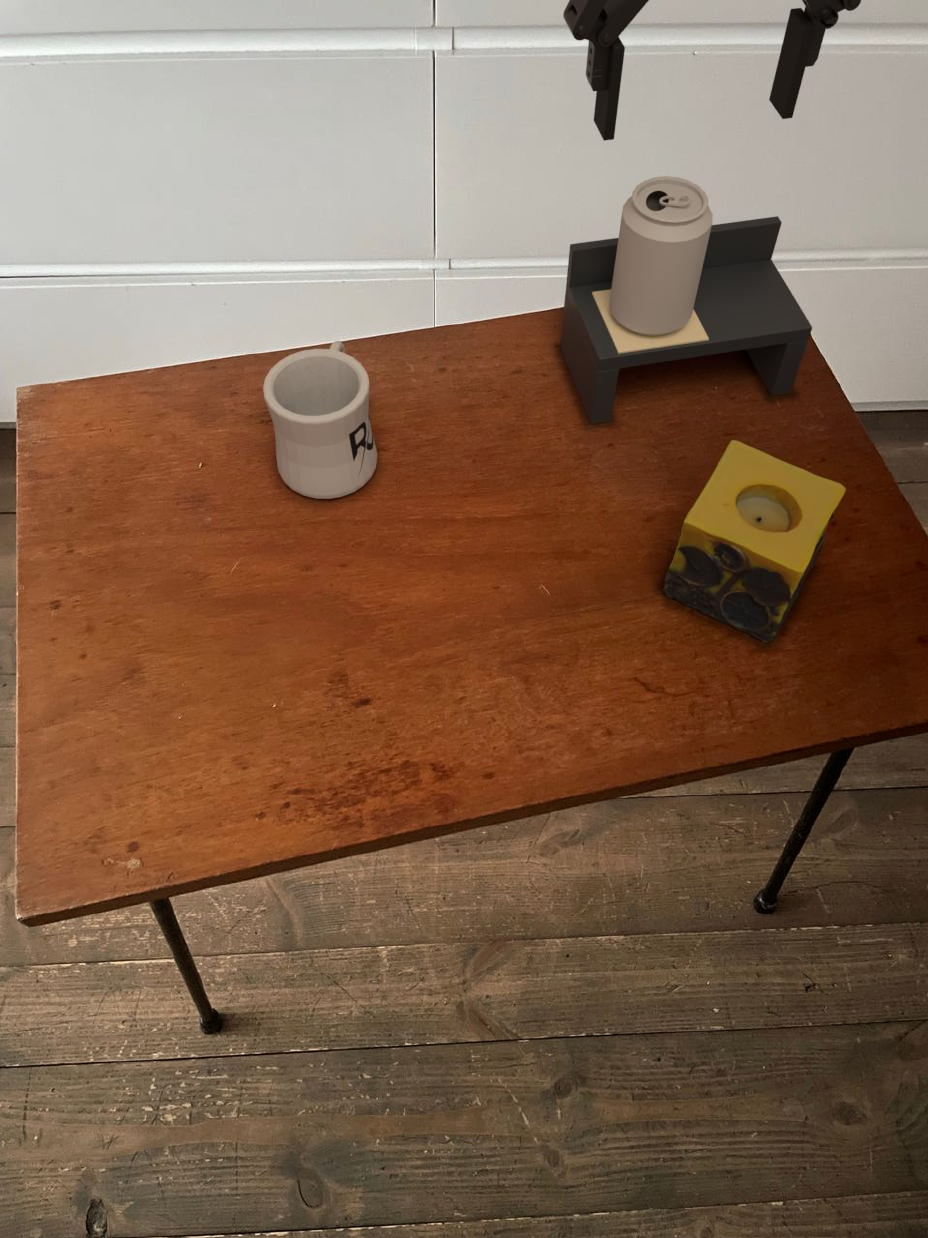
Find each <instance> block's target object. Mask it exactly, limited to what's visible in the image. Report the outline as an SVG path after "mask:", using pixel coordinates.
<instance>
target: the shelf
mask: <svg viewBox="0 0 928 1238" xmlns="http://www.w3.org/2000/svg"><path fill="white" fill-rule="evenodd" d="M781 227H782V221H781V219H780V217H779V216H770V217H761V218H755V219H748V220H740V221H733V222H725V223H718V224H712V226H711V231H710V235H709V240H708V244H707V249H706V253H705V258H704V262H703V267H702V271H701V276H700V281H699V285H698V290H697V294H696V299H695V303H694V308H693V312H692V316H691V317H690V319H689V321H688V322H687V323H686V324H685V325H684V326H682V327H681V328H680V329H678V330H675V331H672V332H670V333H667V334H664V335H659V336H646V335H641V334H637V333H634V332H632V331H630V330H629V329H627V328H625V327H624V326H623V325H622V324H620V323H619V322H618V321H617V320H616V319H615V318H614V316H613V315H612V313H611V310H610V308H609V303H610V295H611V288H612V281H613V274H614V267H615V260H616V253H617V246H618V239H619V237H613V238H606V239H599V240H593V241H591V240H590V241H584V242H577V243H570V244H569V251H568V253H569V255H568V262H567V272H566V283H565V284H566V285H565V294H564V303H563V314H562V323H561V324H562V325H561V334H560V345H559V349H560V351H561V353H562V356H563V358H564V361H565V363H566V366H567V368H568V371H569V374H570V377H571V379H572V382H573V384H574V387H575V389H576V391H577V393H578V396H579V399H580V401H581V403H582V406H583V409H584V411H585V413H586V417H587V419H588V421H589V424H590V425H596V424H602V423H609V422H612V416H613V411H614V410H613V409H614V403H615V397H616V391H617V385H618V379H619V373H620V369H625V368H633V367H638V366H639V367H640V366H645V365H646V366H647V365H652V364H657V363H658V364H660V363H665V362H672V361H678V360H679V361H680V360H685V359H692V358H698V357H704V356H711V355H712V356H713V355H719V354H725V353H731V352H738V351H745V352H746V353H747V355H748V357H749V358H750V360H751V362H752V364H753V366H754V368H755V369H756V372H757V373H758V375H759V377H760V379H761V381H762V383H763V384H764V386H765V388H766V390H767V391H768V394H769V395H770V396H771V397H775V396H779V395H780V396H782V395H786V394H791V391H792V389H793V386H794V383H795V380H796V378H797V374H798V371H799V368H800V366H801V362H802V360H803V357H804V354H805V351H806V348H807V345H808V342H809V339H810V336H811V333H812V330H813V326H812V324H811V322H810V321H809V319H808V317H807V316H806V314H805V313H804V311H803V309H802V307H801V306H800V305H799V303H798V301H797V300H796V297H795V296H794V295H793V293H792V291H791V289H790V287H788V284H787V283H786V281H785V279H784V278H783V276H782V275H781V273H780V271H779V270H778V268H777V266H776V265H775V263H774V261H773V259H772V258H773V255H774V251H775V247H776V245H777V241H778V237H779V234H780V230H781Z"/></svg>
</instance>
